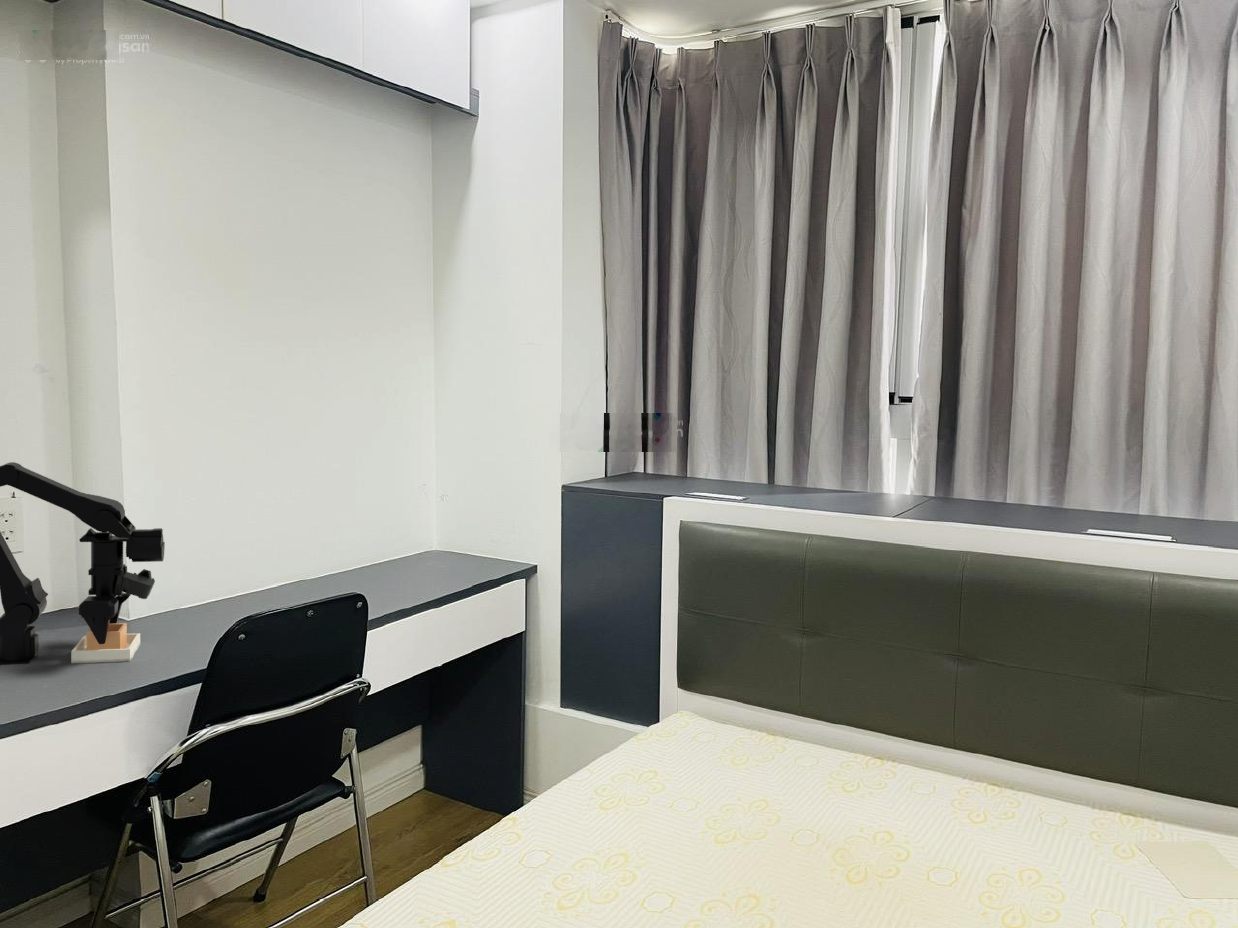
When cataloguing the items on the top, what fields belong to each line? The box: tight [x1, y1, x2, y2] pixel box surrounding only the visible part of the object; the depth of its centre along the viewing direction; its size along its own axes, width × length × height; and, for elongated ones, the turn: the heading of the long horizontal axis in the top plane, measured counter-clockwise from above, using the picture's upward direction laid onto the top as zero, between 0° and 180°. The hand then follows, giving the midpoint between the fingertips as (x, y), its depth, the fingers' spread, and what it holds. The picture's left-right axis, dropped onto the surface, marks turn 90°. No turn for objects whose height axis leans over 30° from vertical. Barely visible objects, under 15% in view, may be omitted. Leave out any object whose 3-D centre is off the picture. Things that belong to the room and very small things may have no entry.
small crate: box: [86, 622, 128, 650], centre depth 184 cm, size 6×6×5 cm
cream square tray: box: [70, 633, 141, 664], centre depth 184 cm, size 10×10×2 cm
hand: (107, 636), depth 184 cm, fingers open, 9 cm apart
